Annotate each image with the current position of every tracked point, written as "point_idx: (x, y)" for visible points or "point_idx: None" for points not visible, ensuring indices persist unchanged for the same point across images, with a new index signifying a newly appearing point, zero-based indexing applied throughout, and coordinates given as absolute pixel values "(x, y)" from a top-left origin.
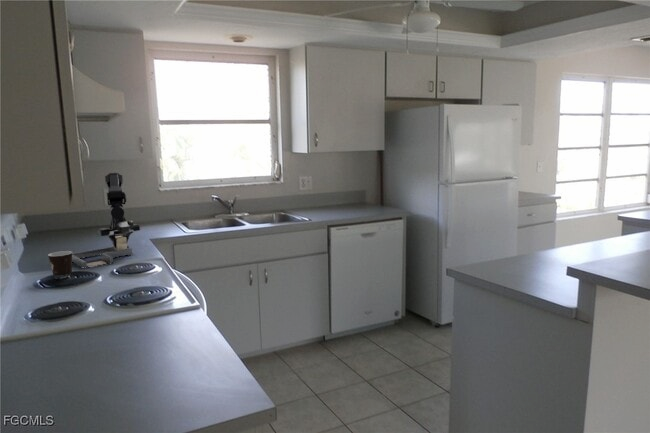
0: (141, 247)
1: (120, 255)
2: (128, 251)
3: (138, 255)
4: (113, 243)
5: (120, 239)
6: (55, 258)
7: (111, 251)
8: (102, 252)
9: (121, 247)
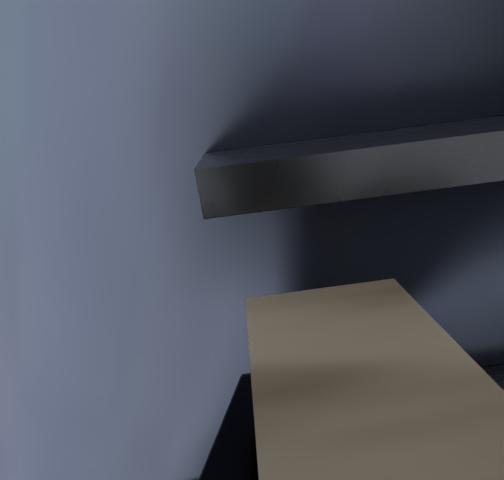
0: (47, 440)
1: (391, 131)
2: (265, 153)
3: (128, 18)
4: None
5: (456, 478)
6: None
7: None
8: None
9: (349, 308)
